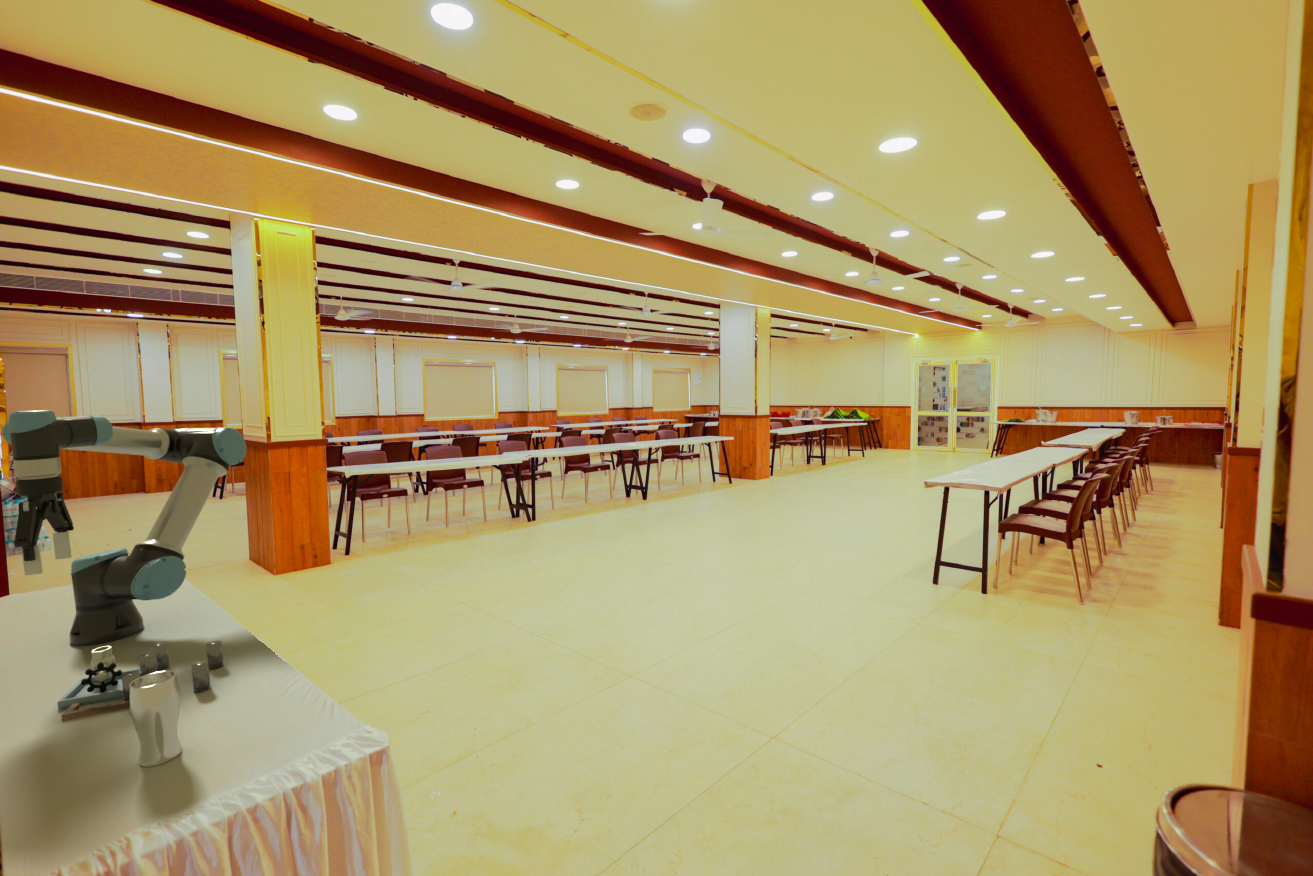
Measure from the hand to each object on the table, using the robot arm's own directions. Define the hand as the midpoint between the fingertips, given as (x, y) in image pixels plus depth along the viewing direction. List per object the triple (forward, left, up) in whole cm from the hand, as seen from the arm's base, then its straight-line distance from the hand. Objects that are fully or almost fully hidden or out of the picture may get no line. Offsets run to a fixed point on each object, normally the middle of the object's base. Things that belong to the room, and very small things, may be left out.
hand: (49, 566), depth 140 cm
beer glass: (+51, +33, -27) cm, 66 cm away
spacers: (+15, +27, -27) cm, 41 cm away
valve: (+14, +13, -25) cm, 32 cm away
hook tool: (+24, +17, -27) cm, 40 cm away
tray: (+15, +13, -27) cm, 33 cm away
